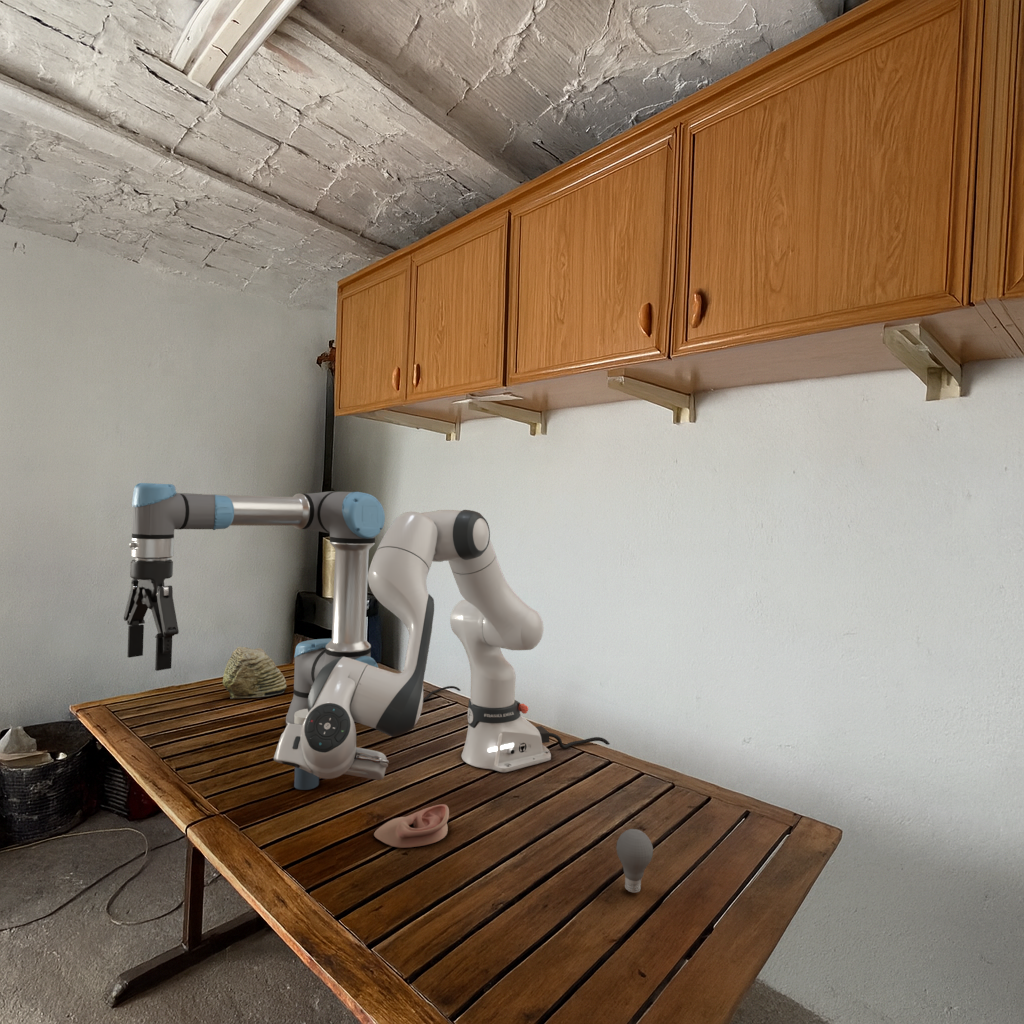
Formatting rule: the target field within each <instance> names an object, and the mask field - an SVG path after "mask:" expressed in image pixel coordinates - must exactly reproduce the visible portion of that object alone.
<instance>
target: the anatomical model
mask: <svg viewBox="0 0 1024 1024" xmlns="http://www.w3.org/2000/svg"><path fill="white" fill-rule="evenodd" d="M449 817H450V809H449V807H448V805H447V804H443V803H442V804H435V805H432V806H429V807H426V808H423V809H421V810H418V811H416V812H413V813H411V814H409V815H407V816H400V817H395V818H392V819H390V820H388V821H386V822H384V823H383V824H382V825H380V826H379V827H378V828H377V829H376V830H375V832H374V833H373V836H374V837H375V839H377V840H378V841H380V842H382V843H384V844H385V845H388V846H391V847H394V848H398V849H399V848H400V849H403V848H414V847H415V848H416V847H423V846H428V845H431V844H434V843H437V842H439V841H441V840H443V839H444V838H446V836H447V835H448V832H449V831H448V829H449V826H448V824H447V823H448V821H449Z"/></svg>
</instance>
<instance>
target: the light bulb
mask: <svg viewBox="0 0 1024 1024" xmlns="http://www.w3.org/2000/svg"><path fill="white" fill-rule="evenodd" d="M615 849H616V854H617V857H618V859H619V861H620V863H621V865H622V867H623V873H624V874H623V875H624V876H625V878H624V888H625V890H627V891H628V892H630V893H634V894H635V893H639V892H640V891H641V889H642V887H641V886H642V879H643V877H644V875H645V871H646V868H647V867H648V866H649V864H650V863H651V861H652V859H653V855H654V847H653V843H652V841H651V838H649V836H648V835H647V834H646V833H645V832H643V831H642V830H641V829H636V828H629V829H627V830H625V831H623V832H622V833H621V834H620V835H619V837H618V839H617V841H616V847H615Z"/></svg>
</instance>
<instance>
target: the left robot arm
mask: <svg viewBox="0 0 1024 1024" xmlns="http://www.w3.org/2000/svg"><path fill="white" fill-rule="evenodd" d="M385 515H386V513H385V511H384V508H383V505H382V503H381V502H380V501H379V500H378V498H377V497H375V495H373V494H370V493H367V492H363V491H362V492H361V491H337V490H336V491H335V490H333V491H332V490H330V491H321V492H311V493H295V494H294V495H293V496H276V495H275V496H274V495H273V496H272V495H248V494H247V495H246V494H244V495H243V494H220V493H219V494H218V493H217V494H216V493H215V494H214V493H189V492H187V493H186V492H177V491H176V486H175V485H174V484H173V483H152V482H139V483H137V484H136V485H135V486H134V488H133V492H132V501H131V520H132V521H131V542H130V543H128V547H129V548H130V549H131V550H130V556H131V558H133V559H132V560H131V561H130V567H129V568H130V571H129V574H130V575H129V576H130V578H131V581H130V590H129V594H128V598H127V603H126V607H125V610H124V615H123V621H124V622H126V624H127V626H128V629H127V630H128V631H127V658H135V657H142V656H144V635H145V634H144V630H145V625H144V624H145V623H146V621H145V619H144V618H145V616H146V615H147V612H148V609H149V610H151V613H152V618H153V620H154V624H155V627H156V631H157V633H156V635H155V636H154V638H155V661H154V663H155V665H154V668H155V669H154V670H155V671H157V672H159V671H164V670H169V669H172V659H173V657H172V655H173V637H175V636H176V635H179V632H180V631H179V625H178V619H177V615H176V614H177V613H176V609H175V603H174V597H173V595H174V593H173V585H165V580H167V579H171V578H172V577H173V575H174V573H173V572H174V561H173V560H172V559H171V558H173V557H174V554H175V553H174V552H175V530H213V531H215V530H224V529H228V528H230V526H233V527H234V526H237V527H238V526H240V527H243V526H246V527H247V526H249V527H250V526H258V527H259V526H268V527H269V526H276V527H277V526H282V527H284V526H285V527H286V526H287V527H288V526H289V527H290V526H291V527H293V528H294V529H296V530H308V531H309V530H310V531H316V532H319V533H325V534H329V544H330V545H331V546H332V547H333V548H334V550H335V551H334V572H333V573H334V577H333V599H332V625H331V626H332V627H331V638H317V639H308V640H304V641H300V642H299V643H297V645H296V646H295V650H294V655H293V657H294V672H293V673H294V674H293V695H292V696H293V697H292V699H291V702H290V704H289V708H288V711H287V713H286V715H285V727H286V726H287V725H288V724H294V715H295V712H297V711H299V710H302V709H308V708H307V700H308V696H309V693H310V690H311V688H312V685H313V683H314V681H315V679H316V677H317V675H318V673H319V672H320V670H321V669H322V668H323V667H324V666H325V665H327V664H328V663H330V662H331V661H333V660H335V659H337V658H339V657H342V656H344V657H347V658H351V659H354V660H357V661H360V662H363V663H366V664H368V665H371V666H374V667H377V668H379V665H378V663H377V662H376V660H375V659H374V657H371V652H372V649H371V648H372V644H371V643H370V642H368V640H367V639H366V631H367V607H368V606H367V605H368V604H367V602H368V572H369V555H370V553H369V552H370V550H371V548H372V547H374V545H375V544H376V536H378V535H379V534H380V533H381V530H383V528H384V526H385V522H386V521H385V520H386V516H385ZM448 689H454V690H457V692H461V688H459V687H457V686H455V685H447V686H443V687H440V688H437V689H435V690H432V691H430V692H429V693H428V694H427V695H426V696H425V697H423V702H424V701H427V700H428V699H429V698H430V697H431V695H433V694H435V693H439V692H441V691H444V690H448Z"/></svg>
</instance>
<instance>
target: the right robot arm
mask: <svg viewBox="0 0 1024 1024" xmlns="http://www.w3.org/2000/svg"><path fill="white" fill-rule="evenodd" d="M490 538H491V531H490V525H489V523H488V520H487V519H486V518H485V517H484V515H482V514H481V513H480V512H478V511H475V510H471V509H463V510H458V509H438V510H433V511H432V510H431V511H423V512H418V511H406V512H402V513H401V514H399V515H397V517H396V518H395V519H394V520H393V521H392V523H391V524H390V526H389V527H388V529H387V530H386V532H385V533H384V535H383V537H382V538H381V540H380V542H379V544H378V546H377V548H376V550H375V552H374V554H373V556H372V560H371V562H370V565H369V567H368V581H367V584H368V587H369V589H370V591H371V593H372V595H373V596H374V597H375V599H376V600H377V601H378V602H379V603H380V604H381V605H382V606H383V607H384V608H385V609H387V611H390V612H391V613H392V614H393V615H394V616H396V617H397V618H398V620H400V621H401V623H403V625H404V626H405V627H406V629H407V631H408V641H407V648H406V653H405V658H404V664H403V670H402V671H401V672H393V671H390V670H386V669H383V668H380V667H378V668H377V667H374V666H371V665H368V664H366V663H363V662H360V661H357V660H354V659H351V658H347V657H344V656H342V657H339V658H337V659H335V660H333V661H331V662H330V663H328V664H327V665H325V666H324V667H323V668H322V669H321V670H320V672H319V673H318V675H317V677H316V679H315V681H314V683H313V685H312V688H311V690H310V693H309V696H308V700H307V708H308V714H307V716H306V718H305V720H304V723H303V724H288V725H287V726H286V725H285V729H284V730H283V732H282V733H281V735H280V737H279V739H278V743H277V746H276V749H275V752H274V755H273V761H274V762H275V763H279V764H283V765H286V766H291V767H294V768H295V767H297V768H301V769H303V770H305V771H307V772H309V773H313V774H314V775H315V776H317V777H319V779H325V780H330V779H335V778H338V777H340V776H342V775H347V776H353V777H357V778H364V779H368V780H369V779H370V780H375V781H383V780H384V778H385V774H386V770H387V768H388V767H389V765H390V763H389V760H388V758H387V756H386V754H385V753H383V752H381V751H379V750H373V749H368V748H362V747H358V746H357V728H356V723H357V724H360V725H363V726H366V727H369V728H372V729H375V730H376V731H378V732H380V733H383V734H385V735H388V737H391V738H396V737H399V736H401V735H404V734H406V733H408V732H410V731H412V730H413V729H414V728H415V726H416V725H417V723H418V722H419V720H420V717H421V715H422V711H423V705H424V701H423V698H424V680H425V674H426V670H427V664H428V659H429V658H428V656H429V652H430V645H431V639H432V633H433V622H434V617H435V599H434V597H433V596H432V595H431V594H430V593H429V591H428V587H427V579H428V575H429V572H430V569H431V567H432V563H434V562H436V563H441V562H442V563H443V562H448V564H449V568H450V571H451V573H452V575H453V578H454V581H455V583H456V586H457V588H458V591H459V592H460V595H461V597H462V598H463V599H462V600H459V601H458V602H456V604H455V605H454V606H453V608H452V610H451V612H450V618H449V623H450V628H451V631H452V632H453V634H454V635H455V636H456V638H458V640H459V641H460V643H461V644H462V646H463V648H464V650H465V651H464V652H465V653H466V657H467V659H468V663H469V670H470V698H469V700H468V704H467V705H468V706H467V725H468V726H467V732H466V738H465V742H464V746H463V749H462V751H461V755H460V757H461V759H462V761H463V762H464V763H466V764H468V765H470V766H472V767H476V768H478V769H479V768H480V769H484V770H485V769H486V770H492V771H496V772H500V773H509V772H512V771H516V770H520V769H523V768H527V767H531V766H534V765H535V766H536V765H538V764H542V763H545V762H549V761H551V760H552V754H551V751H550V750H549V748H548V747H547V746H545V745H544V744H546V743H550V738H554V739H555V740H556V741H557V743H558V745H559V747H560V748H561V749H562V750H563V749H564V750H566V749H568V748H570V747H573V746H577V745H584V744H588V743H592V742H602V743H604V745H606V746H608V745H610V742H609V741H608V740H607V739H605V738H604V737H599V736H595V737H590V738H589V737H588V738H585V739H580V740H575V741H574V740H573V741H571V742H568V743H566V744H563V741H562V738H561V737H560V736H559V735H558V734H556V733H554V732H550V731H548V730H547V729H545V728H544V727H543V726H542V725H539V726H535V725H534V724H533V723H531V722H530V721H529V720H528V719H526V717H524V716H522V715H521V713H522V714H524V715H525V714H527V713H528V712H529V710H530V709H529V707H528V705H526V704H525V703H521V702H520V701H518V700H516V680H517V679H516V677H517V674H516V670H515V668H514V666H513V665H512V663H511V662H509V661H508V660H507V659H506V657H505V655H504V654H503V651H502V649H505V650H510V651H531V650H534V649H535V648H536V647H537V646H538V645H539V644H540V642H541V640H542V638H543V636H544V628H545V627H544V621H543V618H542V615H541V614H540V613H539V612H538V611H537V610H535V609H534V608H532V607H530V606H529V605H528V604H527V603H526V602H524V601H523V599H522V598H521V597H520V596H519V595H518V594H517V593H516V592H515V591H514V589H513V588H512V587H511V585H510V584H509V582H508V581H507V579H506V577H505V575H504V573H503V571H502V568H501V566H500V563H499V560H498V556H497V554H496V551H495V549H494V546H493V543H492V541H491V539H490Z"/></svg>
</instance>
